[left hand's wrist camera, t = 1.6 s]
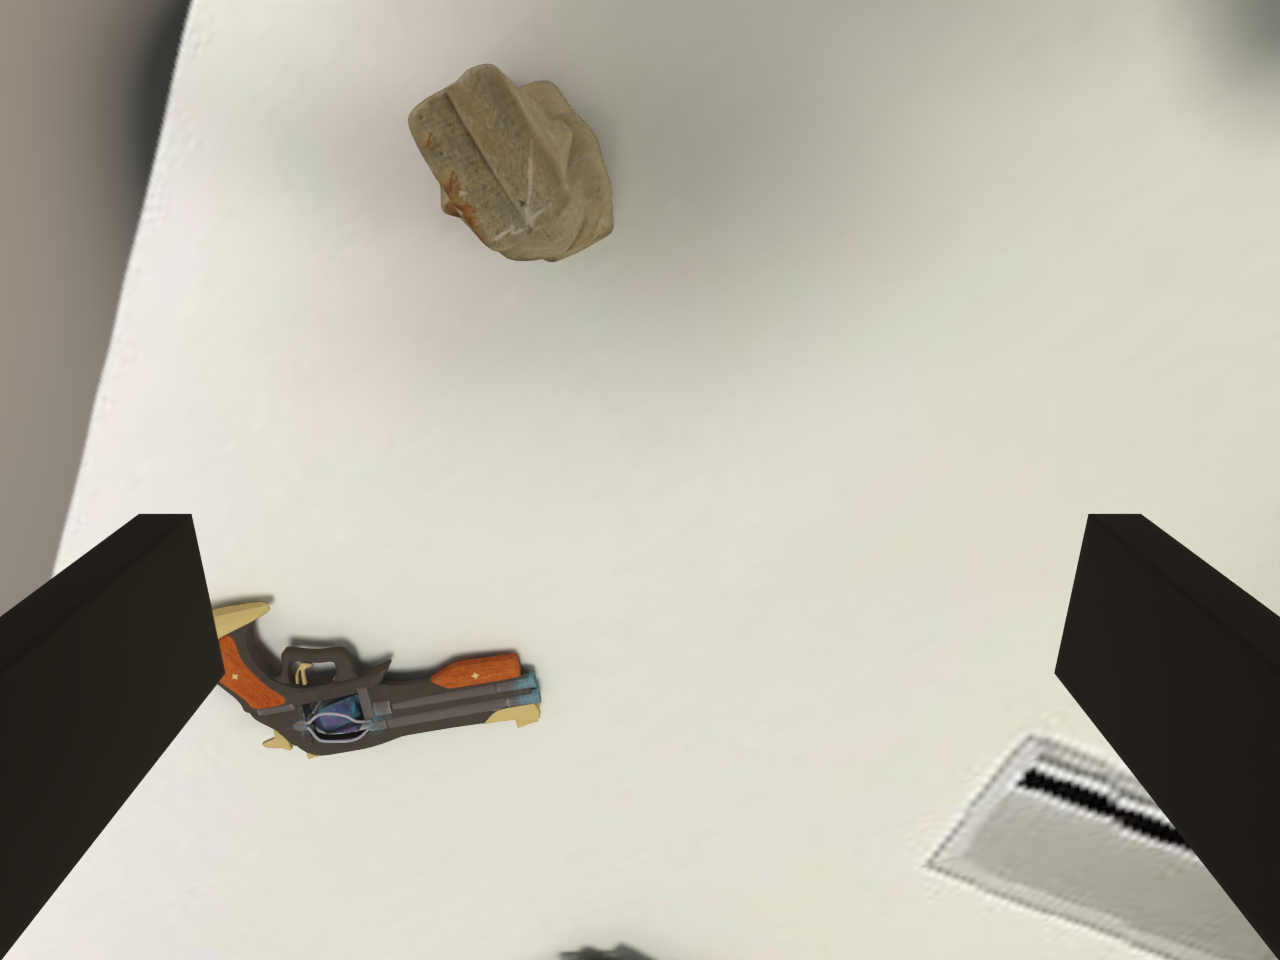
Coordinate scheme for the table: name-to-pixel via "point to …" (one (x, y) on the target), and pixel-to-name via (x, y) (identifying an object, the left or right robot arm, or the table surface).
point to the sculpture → (515, 165)
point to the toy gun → (363, 692)
